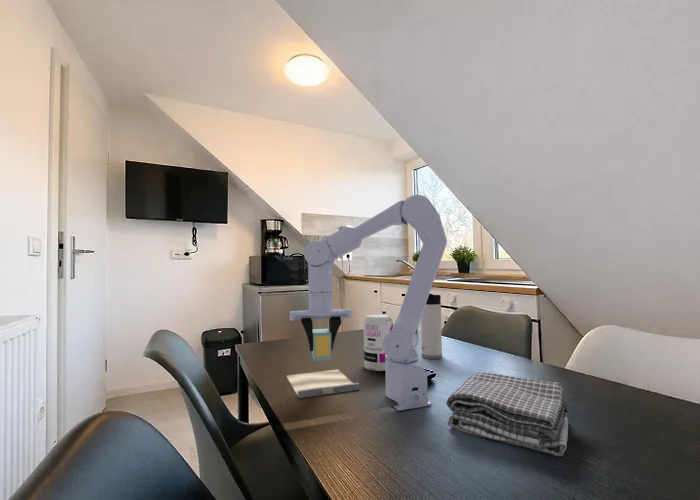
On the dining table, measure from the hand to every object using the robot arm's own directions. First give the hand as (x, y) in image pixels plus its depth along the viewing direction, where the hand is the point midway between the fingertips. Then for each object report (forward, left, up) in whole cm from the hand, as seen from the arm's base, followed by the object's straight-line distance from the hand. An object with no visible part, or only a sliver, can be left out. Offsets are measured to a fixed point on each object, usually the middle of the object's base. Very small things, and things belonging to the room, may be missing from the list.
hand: (321, 349), depth 83 cm
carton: (0, 0, -2) cm, 2 cm away
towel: (-30, -27, -10) cm, 42 cm away
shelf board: (+3, 0, -9) cm, 10 cm away
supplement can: (+9, -19, -10) cm, 23 cm away
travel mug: (+15, -40, -10) cm, 44 cm away
